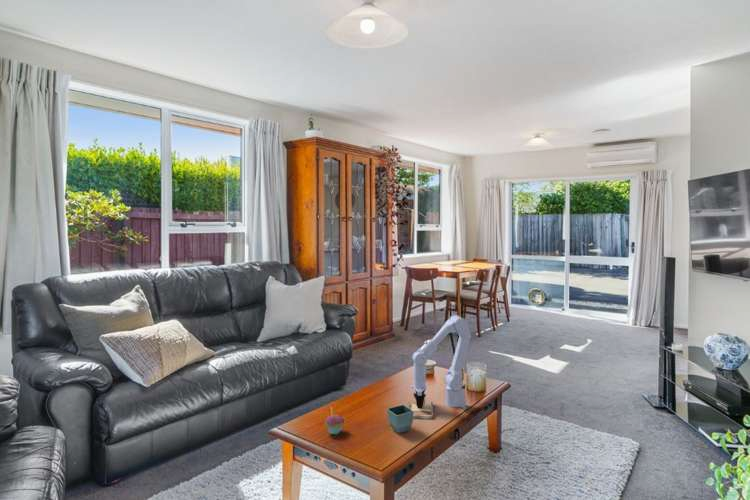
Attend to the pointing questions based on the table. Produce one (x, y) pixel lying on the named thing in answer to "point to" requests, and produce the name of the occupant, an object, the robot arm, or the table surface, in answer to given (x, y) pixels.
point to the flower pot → (400, 418)
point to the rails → (423, 415)
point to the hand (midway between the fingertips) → (420, 405)
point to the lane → (425, 408)
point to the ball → (423, 402)
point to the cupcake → (334, 423)
